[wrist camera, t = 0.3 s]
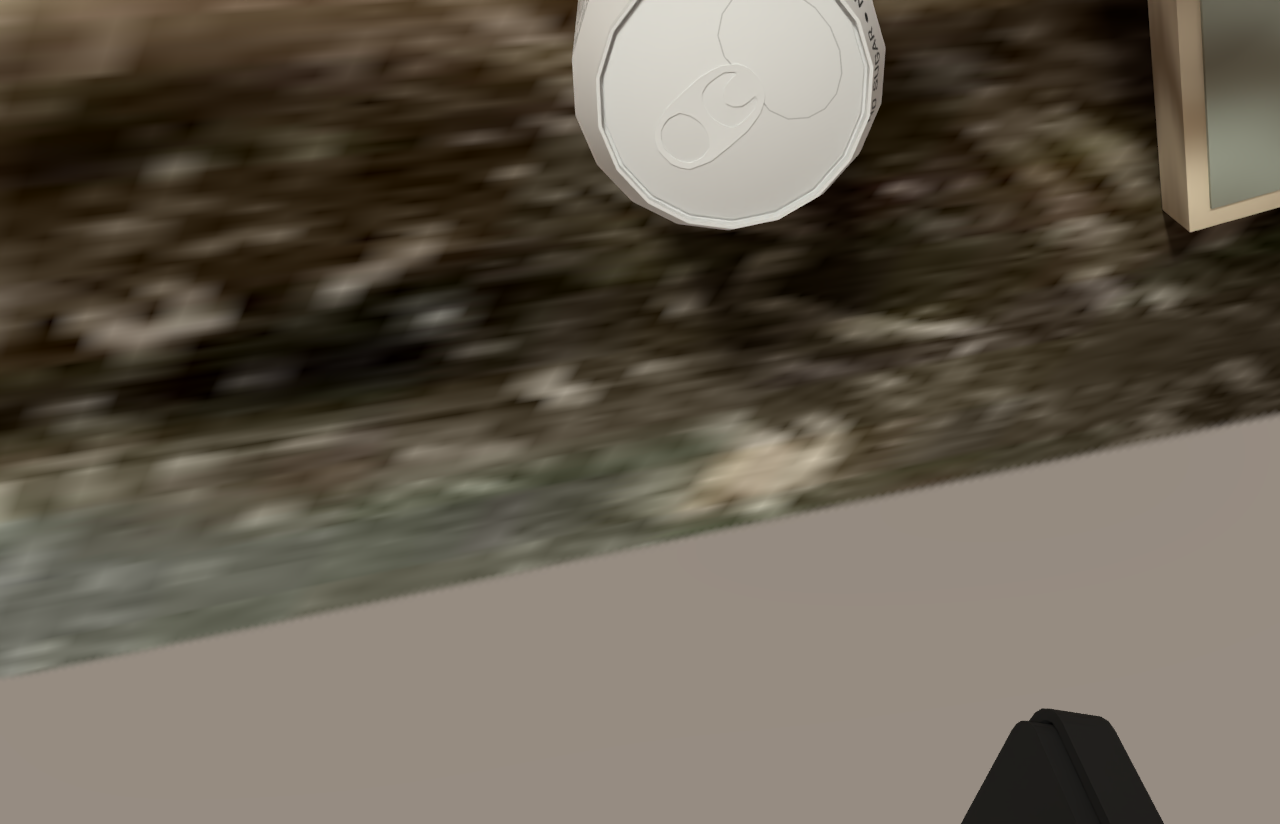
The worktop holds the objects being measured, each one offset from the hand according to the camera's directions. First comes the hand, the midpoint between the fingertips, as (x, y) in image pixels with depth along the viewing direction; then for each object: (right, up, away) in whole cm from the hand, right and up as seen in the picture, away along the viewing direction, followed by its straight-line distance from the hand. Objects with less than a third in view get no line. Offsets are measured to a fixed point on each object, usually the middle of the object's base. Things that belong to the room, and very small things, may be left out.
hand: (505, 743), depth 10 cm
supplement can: (+3, +19, +31) cm, 36 cm away
